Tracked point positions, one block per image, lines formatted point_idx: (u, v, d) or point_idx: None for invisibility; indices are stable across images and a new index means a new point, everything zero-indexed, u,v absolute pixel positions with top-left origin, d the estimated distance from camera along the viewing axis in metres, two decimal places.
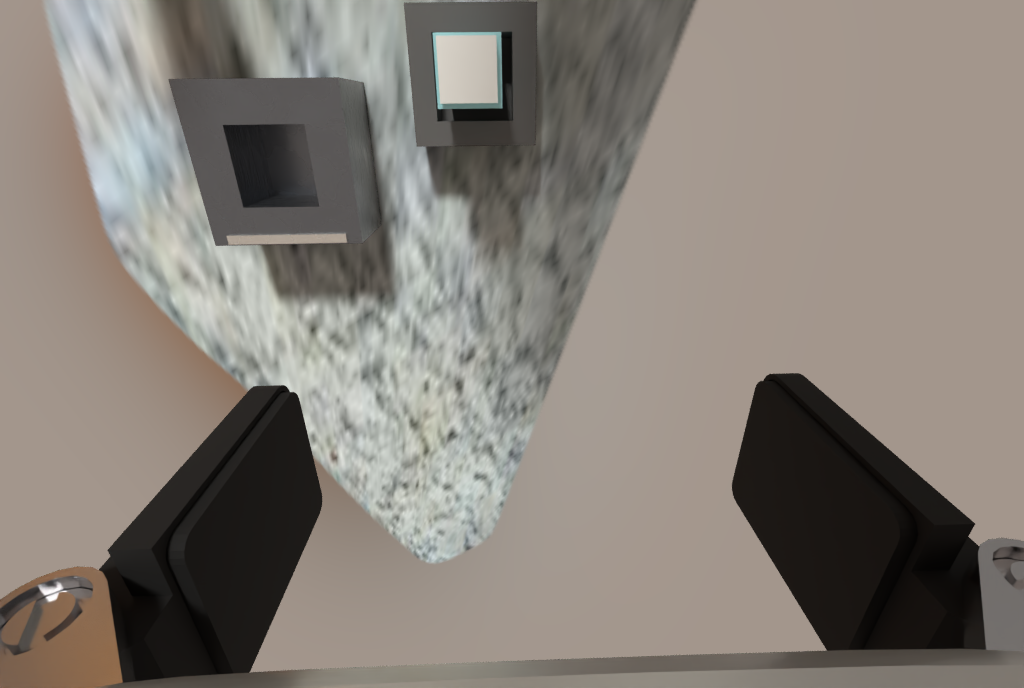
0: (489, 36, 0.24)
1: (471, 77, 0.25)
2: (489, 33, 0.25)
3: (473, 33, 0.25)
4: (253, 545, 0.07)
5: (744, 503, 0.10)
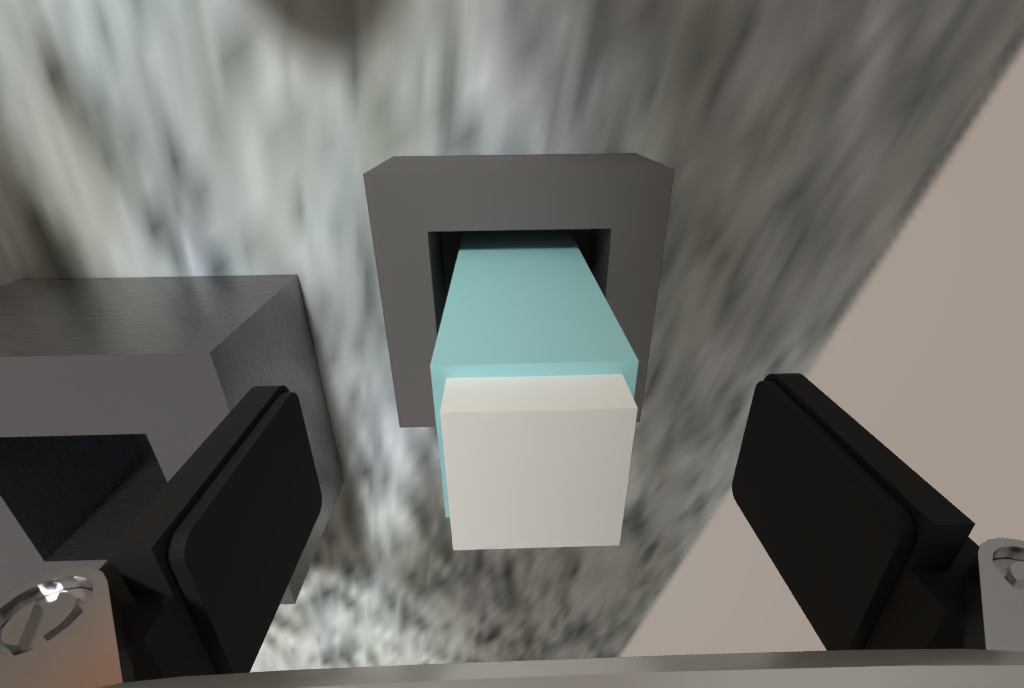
0: (614, 411, 0.07)
1: (548, 499, 0.08)
2: (602, 364, 0.08)
3: (554, 365, 0.08)
4: (253, 545, 0.07)
5: (744, 503, 0.10)
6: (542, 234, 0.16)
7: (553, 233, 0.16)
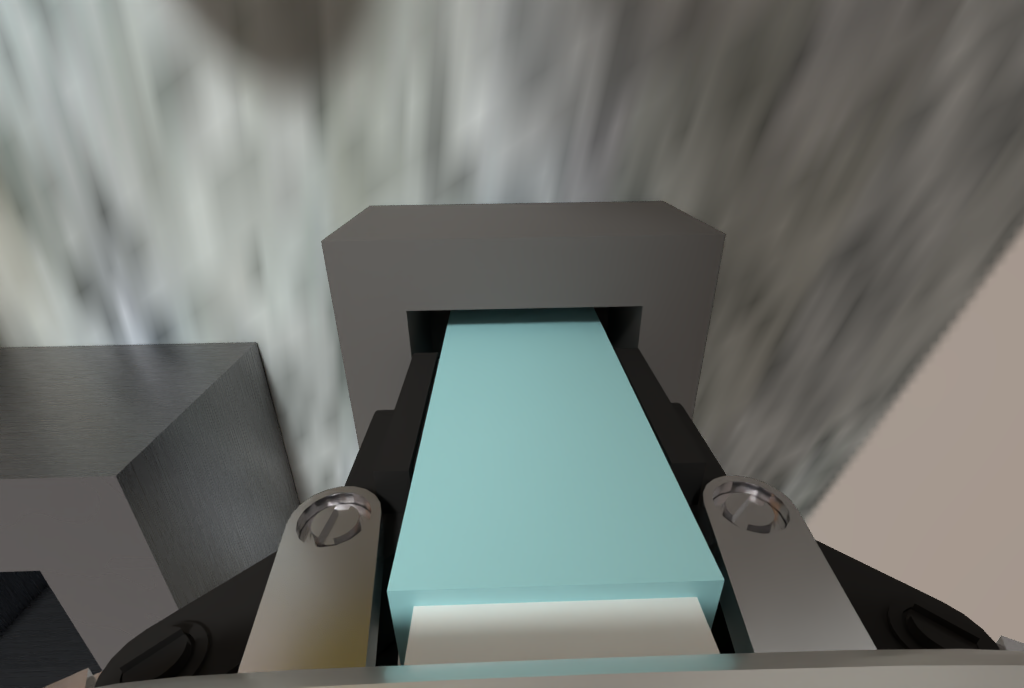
0: None
1: None
2: (665, 584, 0.05)
3: (588, 588, 0.05)
4: None
5: None
6: None
7: None
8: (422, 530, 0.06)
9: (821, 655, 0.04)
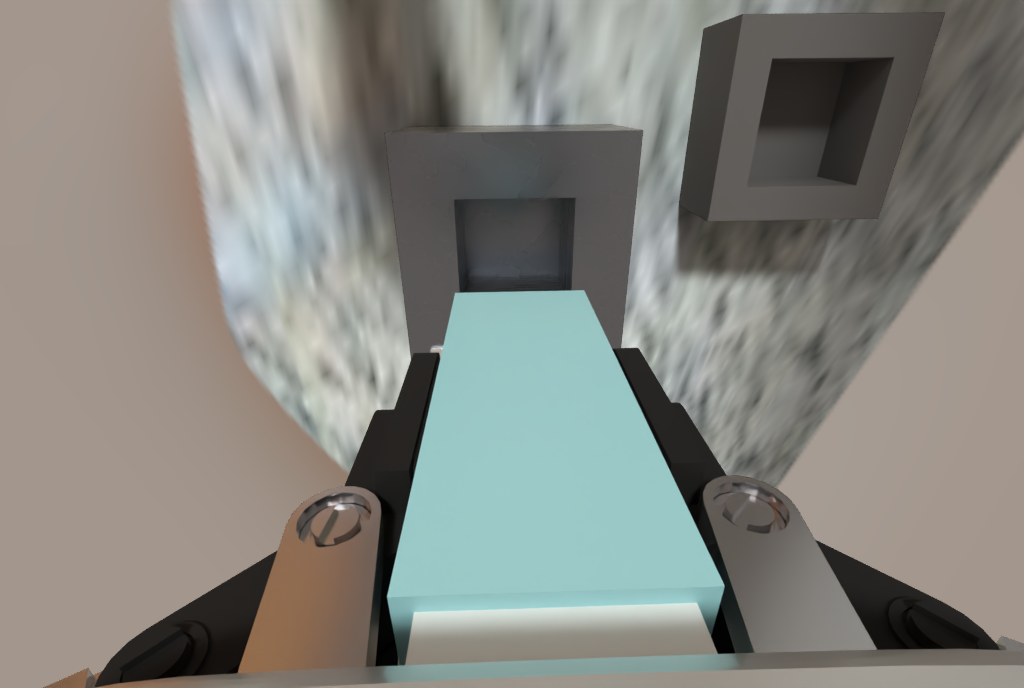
0: None
1: None
2: (666, 590, 0.05)
3: (588, 594, 0.05)
4: None
5: None
6: (552, 298, 0.13)
7: (565, 297, 0.13)
8: (422, 535, 0.06)
9: (821, 655, 0.04)
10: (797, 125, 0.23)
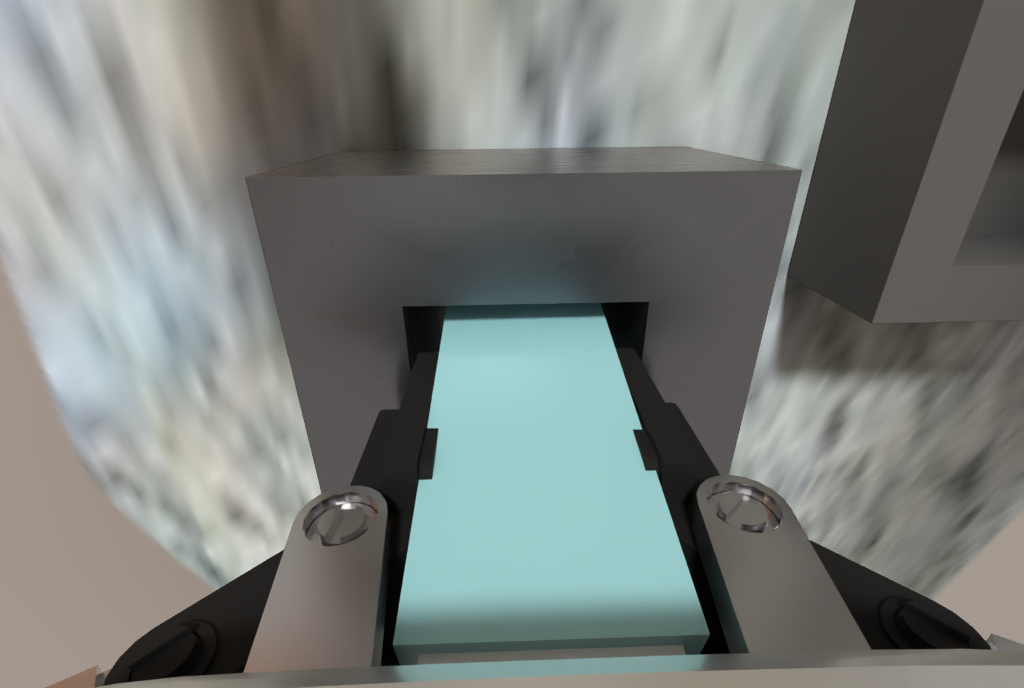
0: None
1: None
2: (654, 636, 0.05)
3: (581, 640, 0.05)
4: None
5: None
6: None
7: None
8: (424, 575, 0.06)
9: (821, 655, 0.04)
10: (1013, 149, 0.13)
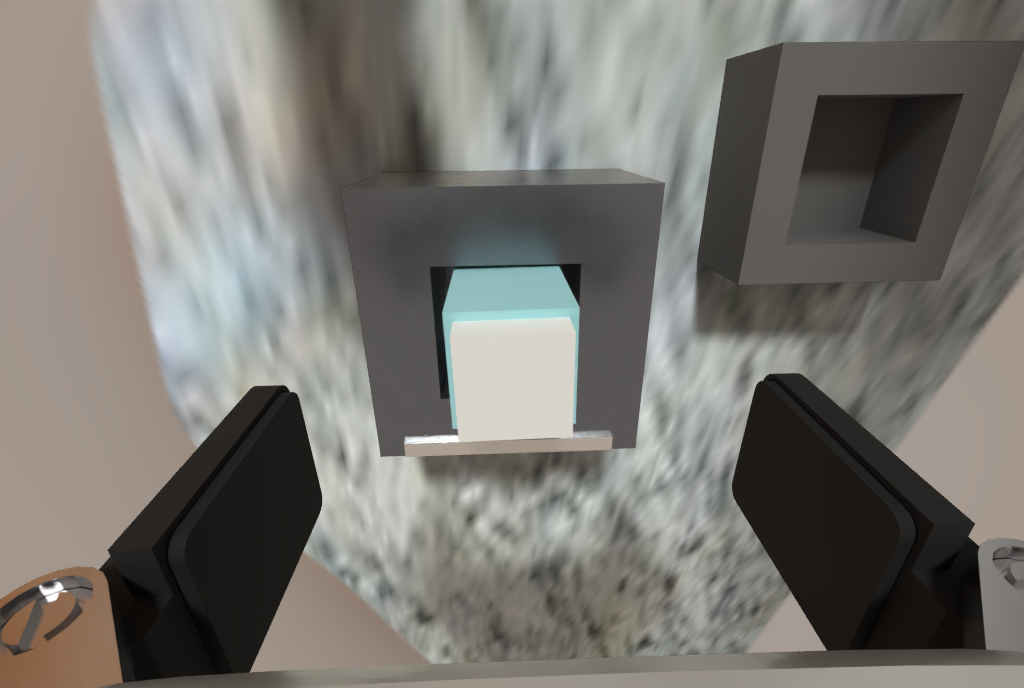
0: (561, 334, 0.11)
1: (522, 400, 0.12)
2: (556, 310, 0.12)
3: (524, 311, 0.12)
4: (253, 545, 0.07)
5: (744, 503, 0.10)
6: None
7: None
8: (454, 301, 0.13)
9: (821, 655, 0.04)
10: (837, 170, 0.20)
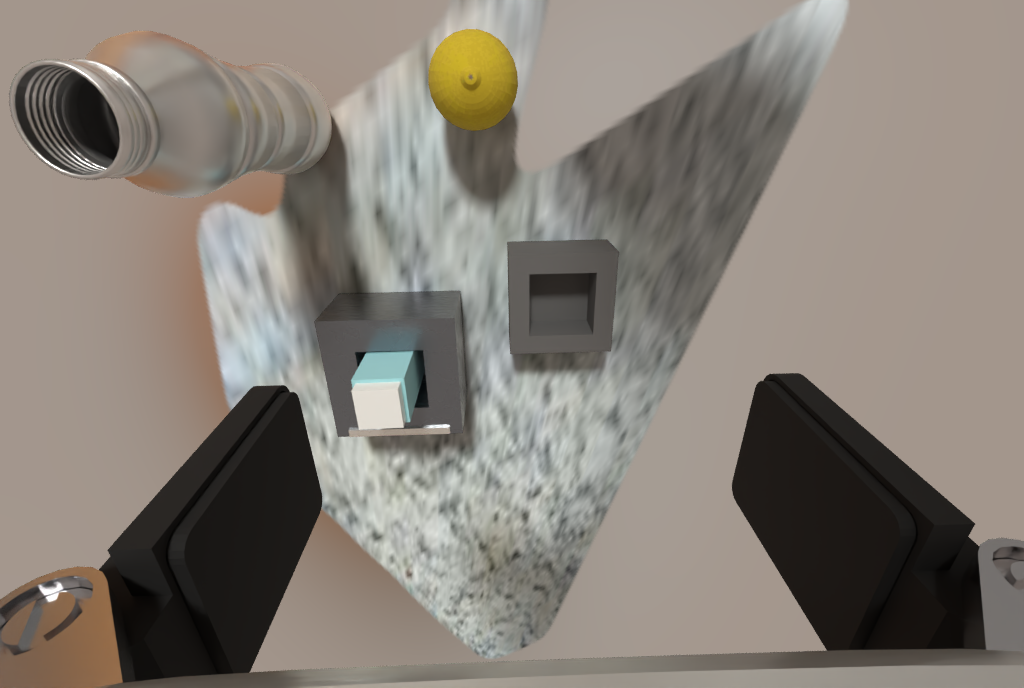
0: (392, 390, 0.31)
1: (381, 413, 0.32)
2: (395, 379, 0.32)
3: (382, 379, 0.32)
4: (253, 545, 0.07)
5: (744, 503, 0.10)
6: None
7: None
8: (357, 374, 0.33)
9: (821, 655, 0.04)
10: (568, 293, 0.39)
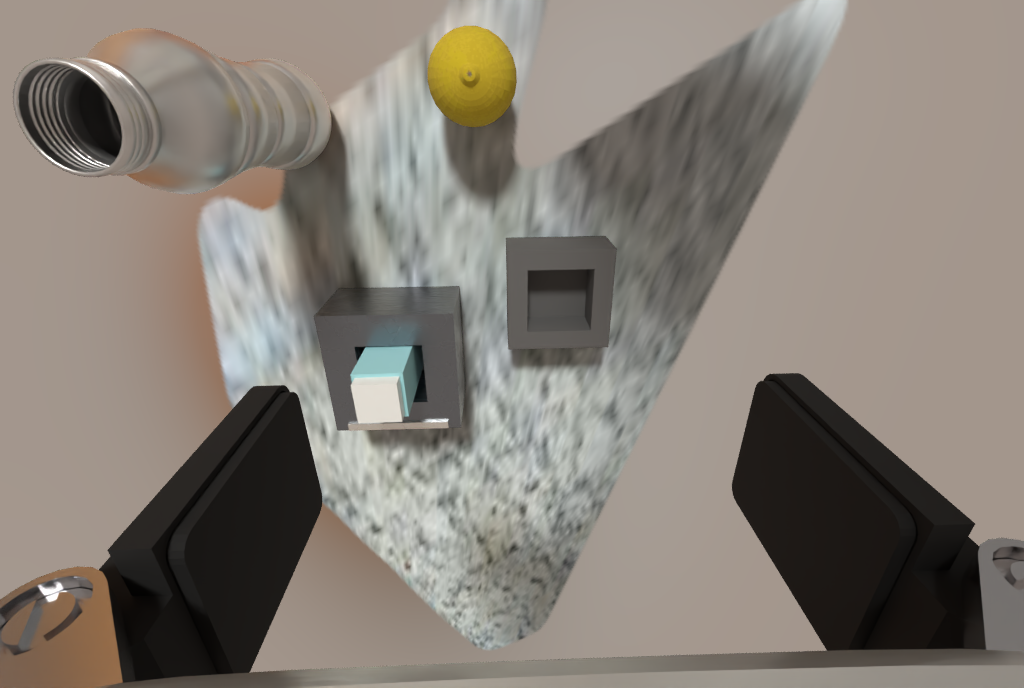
0: (391, 384, 0.32)
1: (380, 408, 0.32)
2: (393, 373, 0.32)
3: (381, 374, 0.32)
4: (253, 545, 0.07)
5: (744, 503, 0.10)
6: None
7: None
8: (357, 368, 0.33)
9: (821, 655, 0.04)
10: (566, 289, 0.40)
